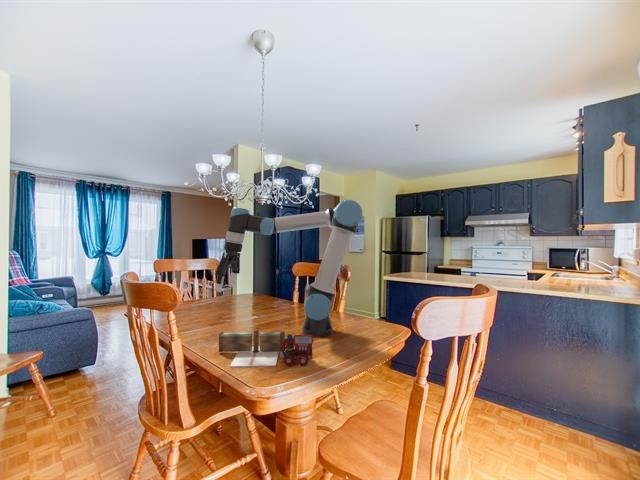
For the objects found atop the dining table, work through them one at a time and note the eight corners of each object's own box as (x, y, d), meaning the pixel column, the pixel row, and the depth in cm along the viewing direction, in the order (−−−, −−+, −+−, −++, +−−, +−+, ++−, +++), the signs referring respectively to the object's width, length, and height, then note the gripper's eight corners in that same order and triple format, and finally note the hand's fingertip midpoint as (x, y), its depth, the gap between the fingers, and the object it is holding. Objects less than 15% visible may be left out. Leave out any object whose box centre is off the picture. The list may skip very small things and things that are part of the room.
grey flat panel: (252, 349, 115) (252, 331, 115) (251, 351, 113) (251, 333, 113) (219, 350, 114) (219, 332, 114) (218, 352, 112) (218, 333, 112)
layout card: (279, 346, 121) (279, 345, 121) (275, 366, 102) (275, 364, 102) (241, 347, 120) (241, 346, 120) (229, 367, 101) (229, 365, 101)
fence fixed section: (284, 351, 116) (284, 328, 116) (284, 352, 114) (284, 330, 114) (253, 351, 115) (253, 329, 115) (252, 353, 113) (253, 330, 113)
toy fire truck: (281, 358, 109) (281, 330, 109) (314, 359, 108) (314, 331, 109) (277, 366, 102) (278, 336, 102) (312, 367, 102) (312, 337, 102)
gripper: (237, 241, 140) (228, 283, 140) (213, 239, 116) (202, 291, 116) (251, 244, 140) (243, 286, 140) (230, 243, 115) (220, 295, 115)
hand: (225, 289), depth 128 cm, fingers open, 13 cm apart
